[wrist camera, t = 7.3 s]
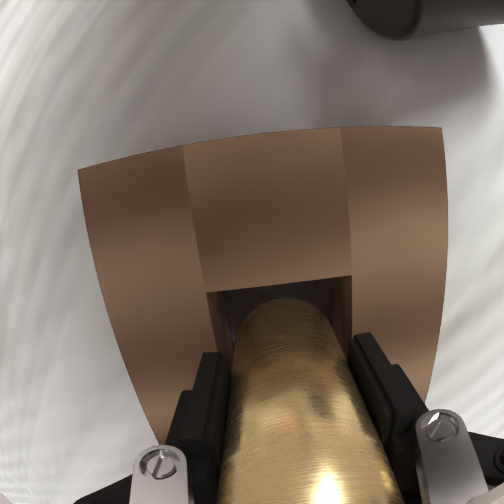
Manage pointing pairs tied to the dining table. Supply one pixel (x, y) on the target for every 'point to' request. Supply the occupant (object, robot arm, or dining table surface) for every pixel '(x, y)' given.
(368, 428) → the gold peg
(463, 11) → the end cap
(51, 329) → the dining table surface
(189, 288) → the jig
